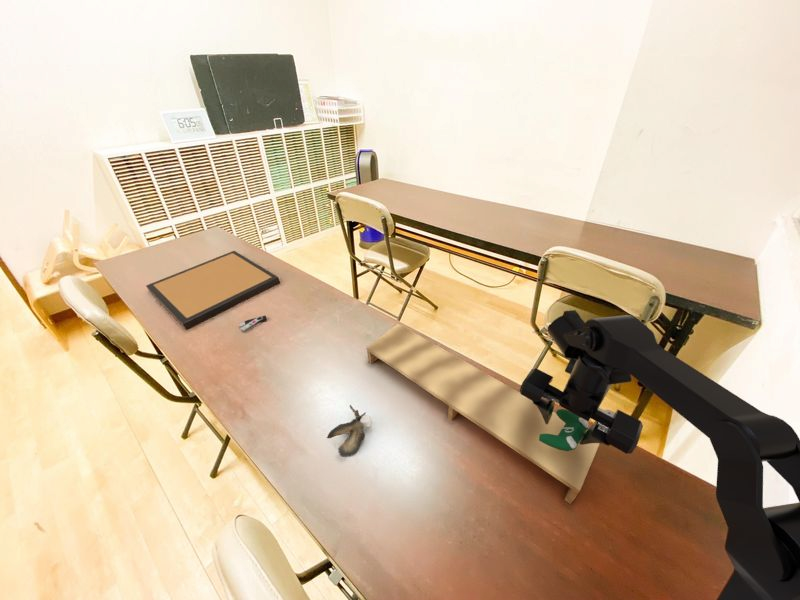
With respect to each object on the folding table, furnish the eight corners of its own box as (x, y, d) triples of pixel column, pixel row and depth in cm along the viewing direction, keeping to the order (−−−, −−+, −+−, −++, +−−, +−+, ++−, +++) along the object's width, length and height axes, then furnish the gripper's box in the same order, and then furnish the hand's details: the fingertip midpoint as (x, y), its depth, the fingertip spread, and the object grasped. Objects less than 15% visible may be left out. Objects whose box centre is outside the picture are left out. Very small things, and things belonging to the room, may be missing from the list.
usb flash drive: (266, 316, 110) (265, 314, 109) (268, 325, 106) (267, 323, 105) (239, 324, 107) (238, 322, 106) (240, 334, 103) (239, 331, 102)
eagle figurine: (342, 411, 78) (320, 440, 71) (356, 398, 74) (334, 426, 67) (365, 433, 78) (346, 463, 70) (380, 421, 74) (361, 452, 66)
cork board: (236, 256, 145) (149, 291, 124) (234, 250, 144) (145, 285, 123) (280, 283, 127) (186, 330, 106) (278, 277, 125) (182, 323, 104)
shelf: (591, 454, 69) (601, 439, 66) (570, 504, 62) (580, 490, 58) (398, 338, 100) (398, 323, 96) (368, 362, 92) (366, 347, 88)
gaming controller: (545, 453, 62) (574, 458, 56) (535, 436, 61) (563, 440, 56) (566, 422, 67) (594, 424, 62) (557, 407, 66) (584, 407, 61)
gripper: (666, 378, 52) (628, 431, 62) (551, 329, 62) (533, 381, 72) (653, 426, 46) (613, 477, 55) (527, 363, 56) (511, 415, 65)
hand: (563, 432), depth 62 cm, fingers closed on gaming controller, 6 cm apart
